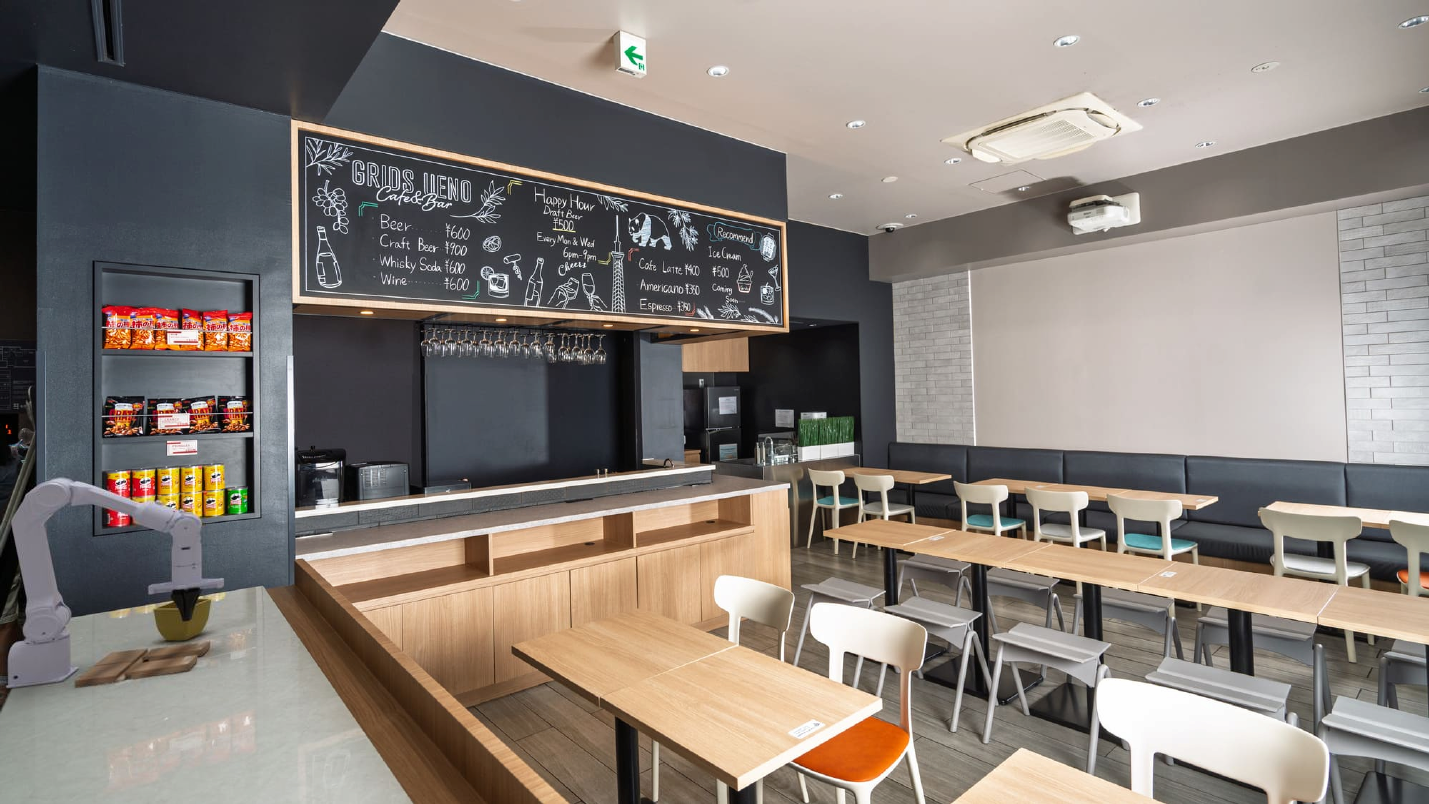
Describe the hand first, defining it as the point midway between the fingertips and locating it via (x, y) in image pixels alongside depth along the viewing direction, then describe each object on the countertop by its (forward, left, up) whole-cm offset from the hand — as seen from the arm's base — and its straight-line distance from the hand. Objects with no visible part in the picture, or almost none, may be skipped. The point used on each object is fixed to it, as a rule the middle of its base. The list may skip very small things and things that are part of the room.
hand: (187, 620), depth 165 cm
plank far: (-2, 0, -8) cm, 9 cm away
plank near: (-2, -10, -8) cm, 13 cm away
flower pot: (-5, +15, -9) cm, 18 cm away
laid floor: (-12, -5, -8) cm, 15 cm away
